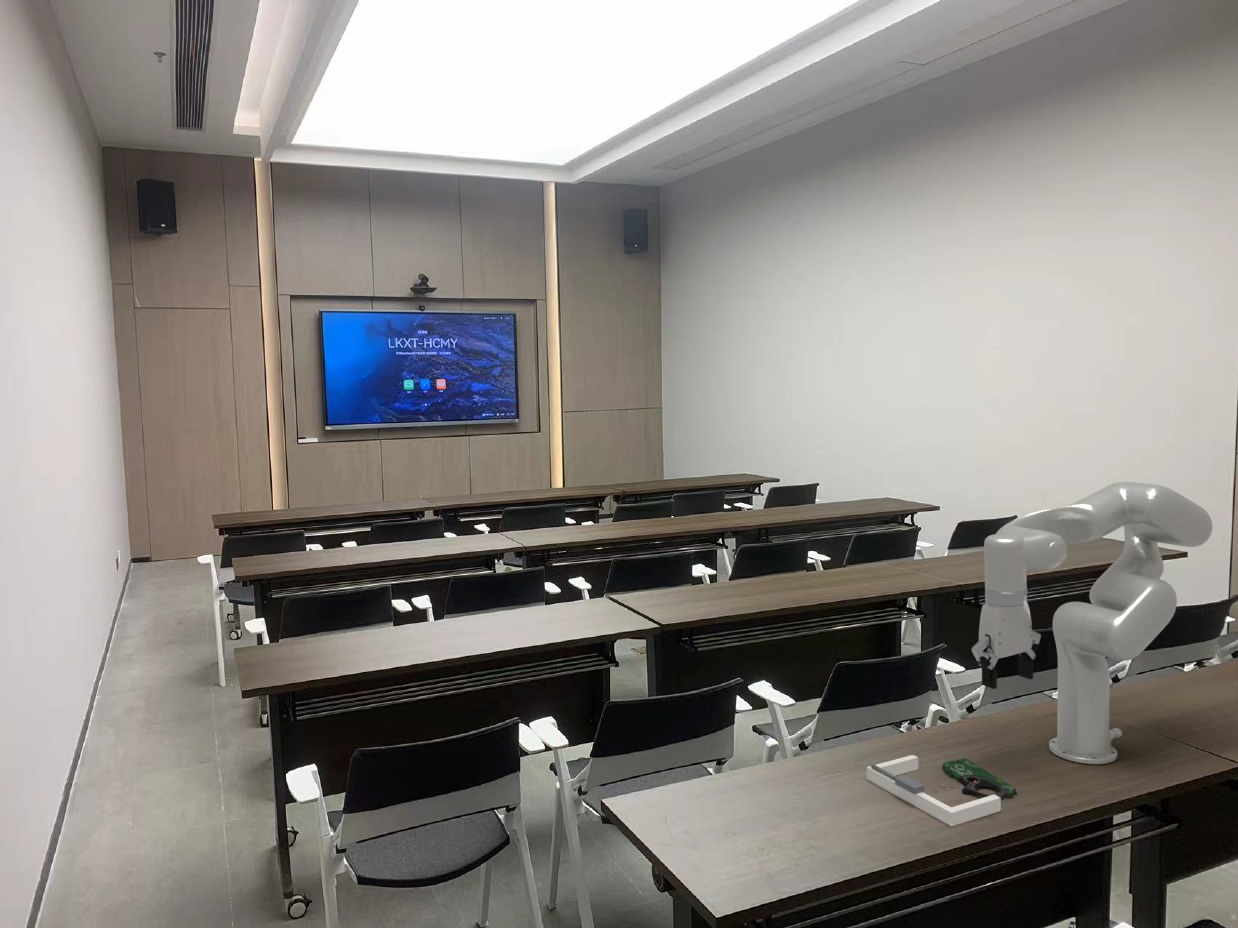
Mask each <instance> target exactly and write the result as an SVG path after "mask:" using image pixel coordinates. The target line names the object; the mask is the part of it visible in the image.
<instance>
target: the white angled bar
mask: <svg viewBox="0 0 1238 928" xmlns="http://www.w3.org/2000/svg"><path fill="white" fill-rule="evenodd" d="M917 770H919V757H918V756H916V755H914V754H912V755H907V756H904V757H899V758H896V759H892V760H888V761H884V762H881V763H878V764H874V763H871V764H870V765H869V766H866V780H867V781H868V782H871V783H873V784H875V785H876V786H878V787H880V788H881V789H883V790H885V791H887V792H889V793H890V794H893V795H894V796H895V797H898V798H900V799H901V800H903V801H904V802H907V803H908V804H910V805H912V806H914V807H916V808H917V809H919V810H921V811H923V812H925V813H926V814H928V815H930V816H932V817H933V818H936V819H937V820H939V821H940V822H942V823H944V824H946V825H948V826H950V827H954V826H958V825H961V824H964V823H968V822H971V821H973V820H974V821H975V820H977V819H979V818H983V817H986V816H989V815H993V814H995V813H999V812H1001V809H1002V807H1001V805H1002V804H1001V803H1002V802H1001V801H1002V800H1001V798H1000V797H998V796H996V795H991V796H987V797H984V798H981V799H978V798H977V799H975V800H971V801H969V802H965V803H962V804H959V805H955V806H949V805H947V804H945V803H943V802H942V801H940V800H938V799H936V798H935V797H932V796H931V795H929V794H927V793H925V784H922V783H921V782H919V781H916V780H915V779H913V778H911V777H909V776H907V775H906V773H907V774H908V773H909V772H914V771H917Z"/></svg>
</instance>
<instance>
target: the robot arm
mask: <svg viewBox="0 0 1238 928" xmlns="http://www.w3.org/2000/svg"><path fill="white" fill-rule="evenodd" d="M1120 528H1124V529H1123V531H1124V545H1123V546H1124V547H1123V550H1122V552H1121V554H1120V555H1119V557H1117V559H1116V560H1115V561H1114V562H1113V563H1112V564H1111V565H1110V566H1109V567H1108V568H1107V570H1105V571H1104V572H1103V573H1102V574H1101V575H1100V576H1099V577H1098V579H1097V580H1096V581H1095V582H1094V583H1093V585H1092V587H1090V589H1089V590H1090V591H1089V594H1088V595H1089V600H1090V603H1088V602H1082V601H1070V602H1066V603H1064V604H1061V605H1060V606H1059V607H1058V608H1057V610H1056V609H1055V610H1056V611H1055V612H1054V614H1053V617H1052V632H1053V636H1054V640H1055V641H1054V642H1055V645H1056V653H1057V654H1056V655H1057V724H1056V725H1057V730H1056V731H1057V733H1056V735H1057V736H1056V737H1053V738H1051V739H1050V741H1048V748H1049V750H1050V752H1052V753H1053V754H1054V755H1055V756H1057V757H1059V758H1062V759H1065V760H1067V761H1071V762H1074V763H1081V764H1087V765H1104V764H1110V763H1112V762H1114V761H1115V760H1117V758H1118V751H1117V750H1118V749H1116V748H1115V747H1114V746H1113V745H1112V744H1111V743H1112V742H1113V740H1114V739H1115V740H1116V739H1117V738H1121V737H1122V735H1123V732H1122V730H1121V729H1120V728H1118V727H1115V728H1112V729H1110V683H1111V682H1110V680H1111V677H1110V676H1111V675H1110V669H1109V664H1108V662H1107V659H1106V658H1109V659H1112V660H1117V661H1121V662H1122V661H1125V662H1126V661H1131V660H1132V659H1135V658H1136V657H1137V656H1139V655H1140V654H1142V652H1143V651H1144V650H1145V649H1146V648H1147V647H1148V646H1149V645H1150V644H1151V643H1152V642H1153V641H1154V640H1155V638H1157V636H1159V634H1160V633H1161V632H1162V631H1163V630H1164V629H1165V627H1166V626H1168V624H1169V623H1170V622H1171V620H1172V619H1173V617H1174V615H1175V613H1176V609H1177V605H1178V604H1177V603H1178V598H1177V593H1176V590H1175V589H1174V588H1173V586H1172V585H1171V584H1170V583H1168V582H1167V581H1166V580H1163V579H1160V578H1161V577H1162V576H1163V575H1164V574H1163V573H1164V570H1165V569H1164V568H1165V567H1164V562H1163V561H1164V560H1163V558H1162V556H1161V553H1160V549H1159V545H1158V543H1160V544H1166V545H1174V546H1178V547H1186V548H1187V547H1189V548H1195V547H1196V548H1197V547H1199V546H1202V545H1204V544H1205V543H1206V542H1208V540H1209V539H1210V537H1211V535H1212V533H1213V521H1212V519H1211V516H1210V514H1209V512H1207V510H1206V509H1205V508H1203V507H1202V506H1200V505H1198V504H1197V503H1195V502H1194V501H1192V500H1190V499H1188V498H1187V497H1185V496H1183V495H1182V494H1181V493H1179V492H1176V491H1175V490H1174V489H1170V488H1169V487H1166V486H1164V485H1160V484H1155V483H1154V484H1152V483H1142V482H1133V481H1131V482H1130V481H1120V482H1114V483H1112V484H1109V485H1107V486H1105V487H1103V488H1101V489H1100V490H1097V491H1095V492H1093V493H1092V494H1090V495H1088V496H1086V497H1084V498H1081V499H1080V500H1078V501H1076V502H1073V503H1069V504H1066V505H1060V506H1057V507H1052V508H1048V509H1043V510H1039V511H1034V512H1031V513H1028V514H1025V515H1021V516H1020V517H1018V518H1015V519H1013V520H1012V521H1010V522H1008V523H1006V524H1005V525H1003V526H1002V527H1000V528H999V529H998V530H997V532H996V533H995V534H991V535H989V536H987V537H985V539H984V542H983V543H984V544H983V549H984V550H983V553H984V554H983V555H984V556H983V557H984V597H985V598H984V599H985V604H982V607H981V610H980V611H981V612H980V617H979V628H978V641H977V642H976V643H975V644H974V645H973V646H972V648H971V652H972V654H973V656H974V659H975V661H976V662H977V663H978V666H980V667H981V684H982V686H983V687H986V688H987V687H988V688H989V689H992V690H995V689H997V688H998V682H997V681H998V679H997V678H998V677H997V676H998V675H997V674H998V672H997V668H995V666H996V664H997V662H998V660H999V659H1002V658H1008V657H1010V656H1016V655H1017V675H1018V676H1019V677H1021V678H1024V679H1027V680H1033V679H1034V660H1035V658H1036V653H1037V650H1038V649H1039V644H1040V640H1041V637H1042V635H1041V634H1040V633H1038V632H1036V631H1034V630H1033V627H1032V626H1033V625H1032V624H1033V623H1032V618H1031V617H1032V616H1031V611H1030V606H1029V603H1028V594H1029V591H1028V586H1027V584H1028V583H1027V579H1028V577H1027V572H1028V571H1030V570H1031V571H1034V570H1036V571H1037V570H1038V571H1043V570H1044V571H1045V570H1052V569H1054V568H1057V567H1059V566H1060V565H1061V564H1062V563H1063V562H1065V560H1066V557H1067V554H1068V546H1067V544H1082V543H1091V542H1095V541H1098V540H1100V539H1101V538H1103V537H1105V536H1107V535H1109V534H1111V533H1112V532H1115V531H1116V530H1118V529H1120ZM990 657H991V658H990Z"/></svg>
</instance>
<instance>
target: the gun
mask: <svg viewBox="0 0 1238 928" xmlns="http://www.w3.org/2000/svg"><path fill="white" fill-rule="evenodd" d="M942 771H944V774H945V775H946V776H948V777H949V778H951V779H953V780H955V781H956V782H957V783H959V784H961V785H963V786H964V787H963V788H962V789H961V794H963V795H965V796H972V797H975V798H977V800H978V799H981V798H984V797H987V796H991V795H996V796H998V797H1000V798H1001V801H1003V800H1006V799H1007V800H1009V799H1010V800H1011V799H1014V798H1015V795H1018V791H1017V788H1015V787H1013V786H1012V785H1010V784H1009V783H1008V782H1006V781H1004V780H1003V779H1002V778H999V777H997V776H996V775H995V774H992V773H991V772H989V771H988V770H986V769H984V768H983V767H981V766H979V765H977V764H976V763H974V762H972V761H971V760H969V759H968V758H961V759H957V760H954V759H953V760H949V761H945V762H943V763H942ZM979 790H989V791H993V792H994V794H992V793H988V794H987V793H983V792H980V791H979Z"/></svg>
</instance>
